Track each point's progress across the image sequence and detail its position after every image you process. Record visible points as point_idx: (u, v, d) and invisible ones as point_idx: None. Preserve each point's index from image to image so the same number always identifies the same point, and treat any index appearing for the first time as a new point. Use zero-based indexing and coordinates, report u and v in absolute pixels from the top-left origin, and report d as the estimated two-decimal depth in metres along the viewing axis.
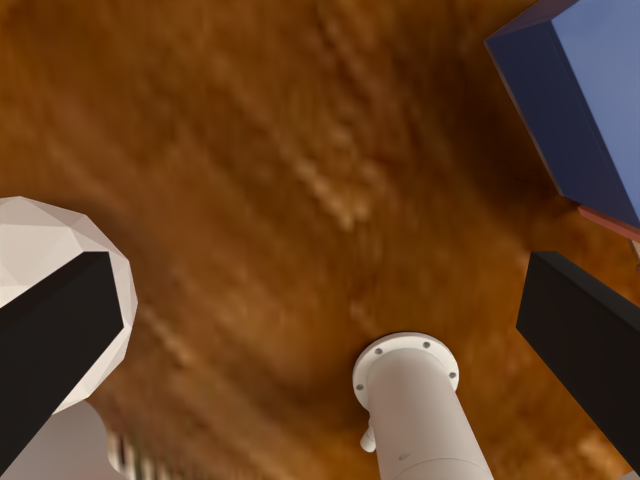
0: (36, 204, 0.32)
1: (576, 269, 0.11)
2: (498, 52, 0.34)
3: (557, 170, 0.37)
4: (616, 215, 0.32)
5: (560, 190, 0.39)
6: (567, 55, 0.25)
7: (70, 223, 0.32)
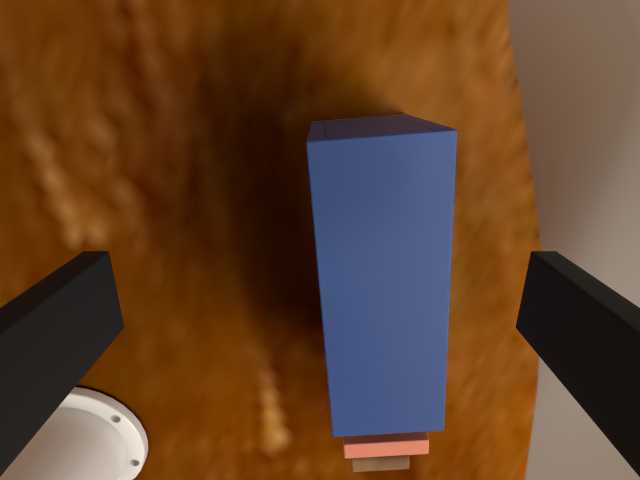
0: None
1: (576, 269, 0.11)
2: None
3: None
4: None
5: None
6: (313, 197, 0.18)
7: None
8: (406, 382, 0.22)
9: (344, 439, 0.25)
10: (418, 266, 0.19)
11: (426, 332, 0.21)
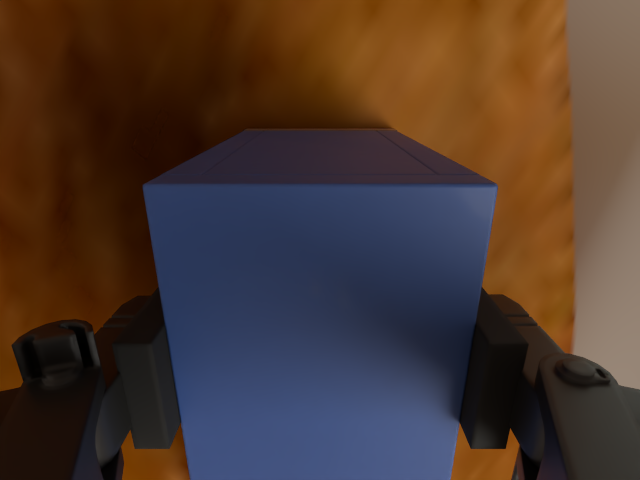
0: None
1: None
2: None
3: None
4: None
5: None
6: (166, 304, 0.08)
7: None
8: None
9: None
10: (390, 445, 0.09)
11: None
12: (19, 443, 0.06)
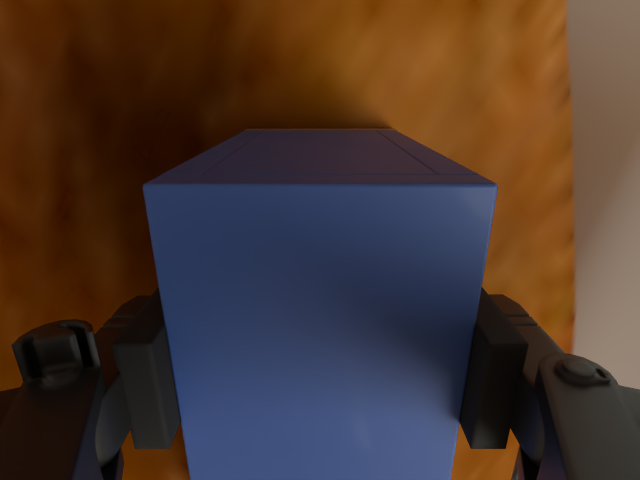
0: None
1: None
2: None
3: None
4: None
5: None
6: (166, 304, 0.08)
7: None
8: None
9: None
10: (390, 445, 0.09)
11: None
12: (19, 443, 0.06)
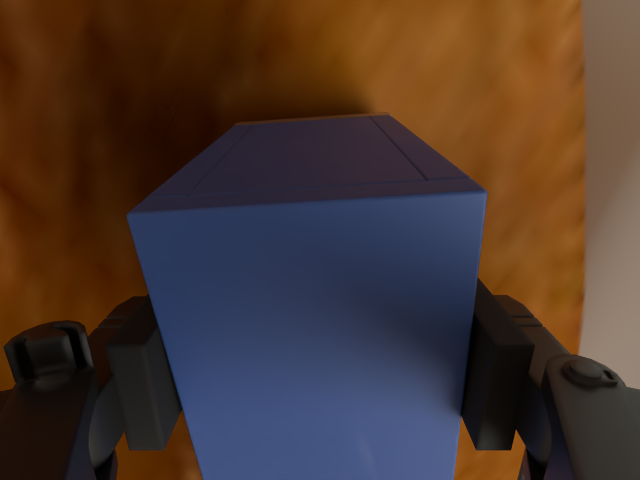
0: None
1: None
2: None
3: None
4: None
5: None
6: (163, 325, 0.08)
7: None
8: None
9: None
10: (394, 442, 0.10)
11: None
12: (11, 445, 0.06)
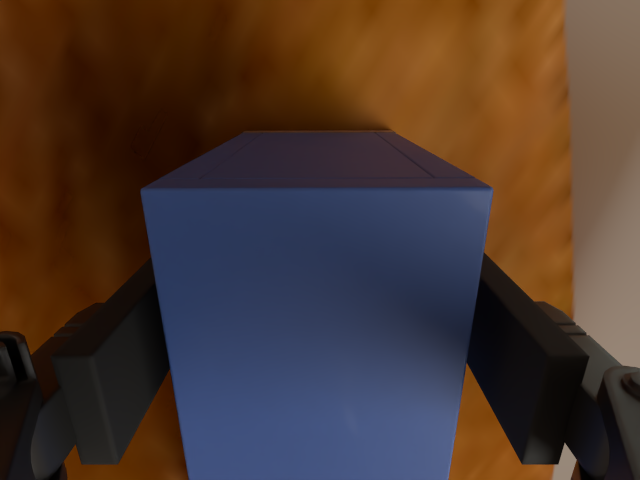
0: None
1: None
2: None
3: None
4: None
5: None
6: (164, 307, 0.08)
7: None
8: None
9: None
10: (388, 446, 0.09)
11: None
12: None
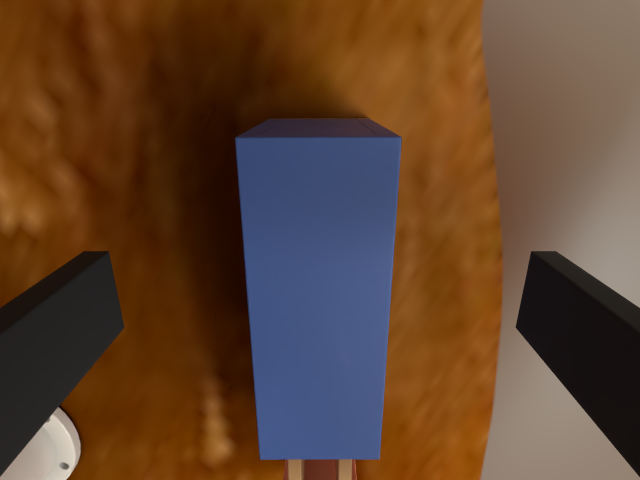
0: None
1: (576, 269, 0.11)
2: None
3: None
4: None
5: None
6: (242, 199, 0.16)
7: None
8: (340, 406, 0.20)
9: None
10: (356, 282, 0.18)
11: (363, 354, 0.19)
12: None
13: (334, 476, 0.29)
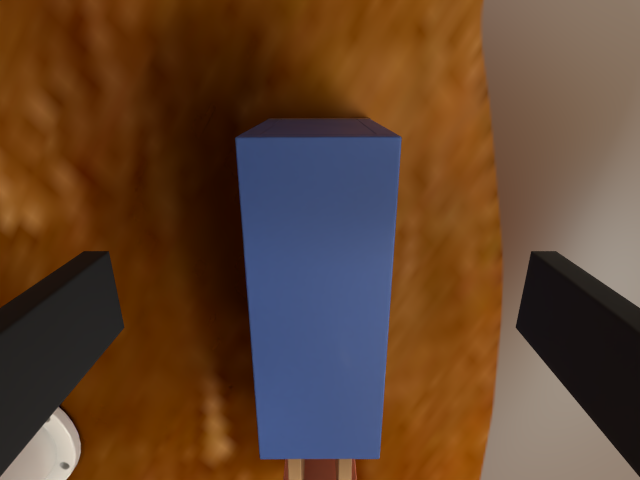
0: None
1: (576, 269, 0.11)
2: None
3: None
4: None
5: None
6: (242, 199, 0.16)
7: None
8: (340, 405, 0.20)
9: None
10: (356, 282, 0.18)
11: (363, 354, 0.19)
12: None
13: (334, 476, 0.29)
